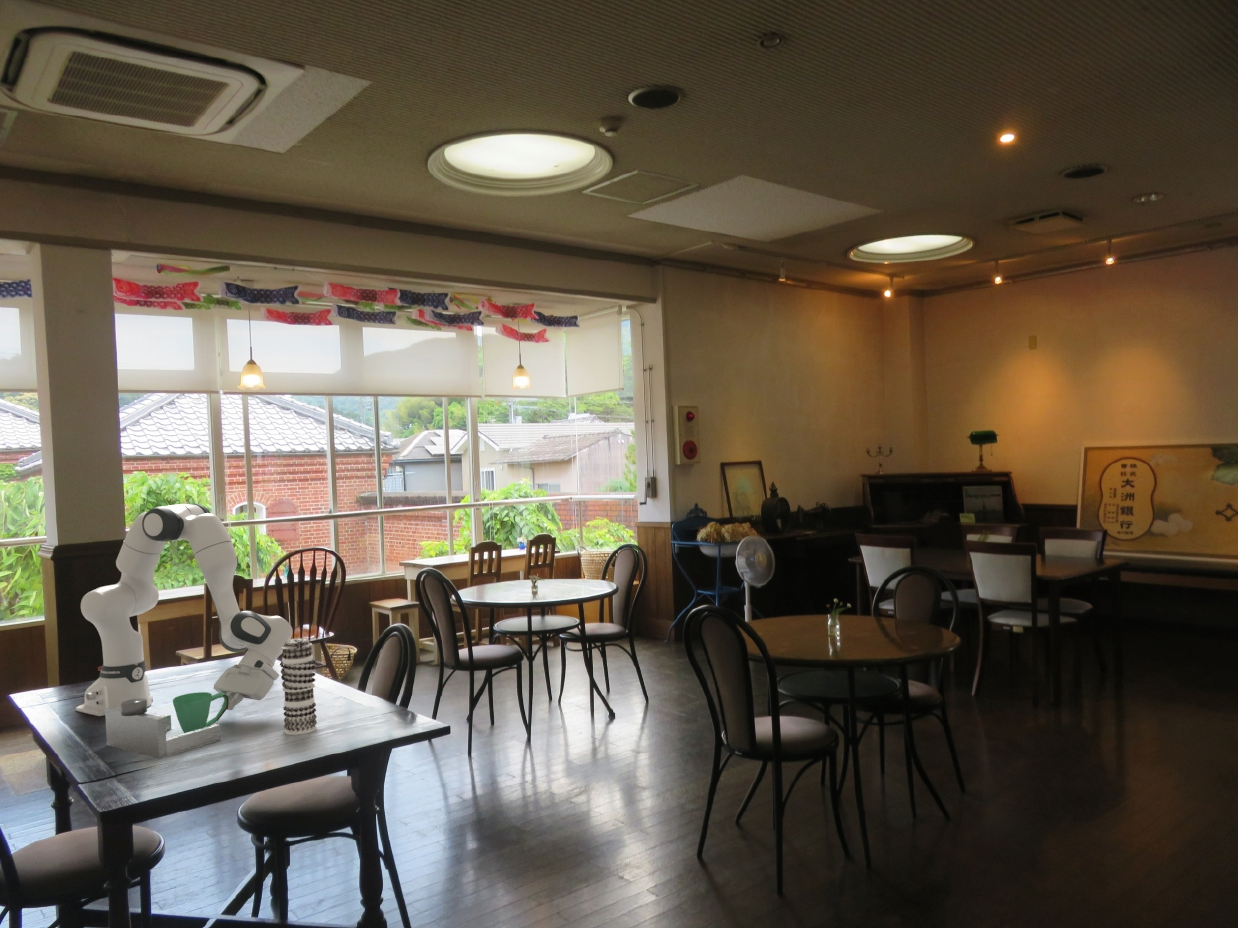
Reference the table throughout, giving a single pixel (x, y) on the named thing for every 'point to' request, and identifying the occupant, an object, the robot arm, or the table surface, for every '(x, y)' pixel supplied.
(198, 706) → the mug
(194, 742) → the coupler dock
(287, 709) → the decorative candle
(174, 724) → the table surface
